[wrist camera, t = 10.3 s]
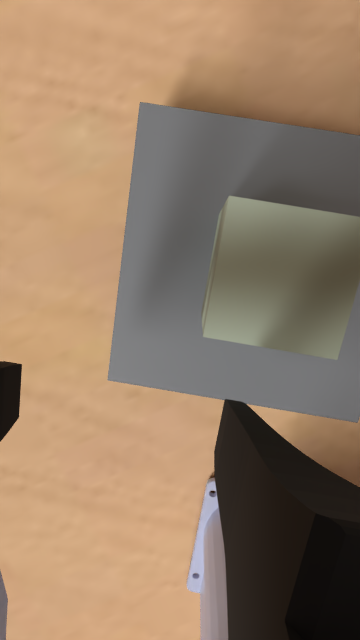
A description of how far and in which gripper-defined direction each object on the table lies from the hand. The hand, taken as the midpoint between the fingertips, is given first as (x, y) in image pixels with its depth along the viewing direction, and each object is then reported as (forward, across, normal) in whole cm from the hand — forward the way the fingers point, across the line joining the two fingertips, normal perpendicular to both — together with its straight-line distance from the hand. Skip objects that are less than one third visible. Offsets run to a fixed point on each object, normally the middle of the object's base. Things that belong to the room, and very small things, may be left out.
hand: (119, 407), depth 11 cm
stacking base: (+9, -5, -5) cm, 12 cm away
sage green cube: (+6, -5, -5) cm, 10 cm away
